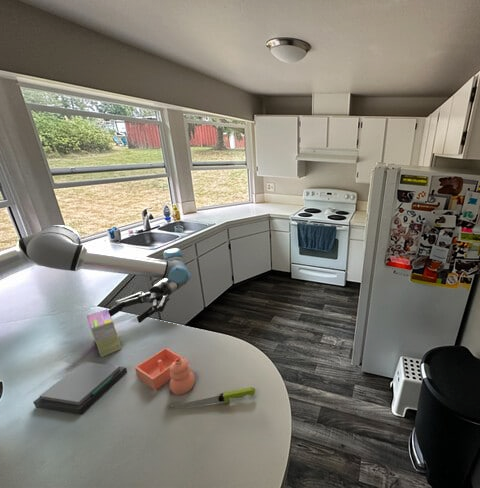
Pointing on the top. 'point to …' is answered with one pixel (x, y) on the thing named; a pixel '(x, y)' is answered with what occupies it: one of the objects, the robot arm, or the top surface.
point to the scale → (80, 388)
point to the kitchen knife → (217, 398)
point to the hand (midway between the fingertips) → (121, 317)
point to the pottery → (166, 371)
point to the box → (104, 332)
